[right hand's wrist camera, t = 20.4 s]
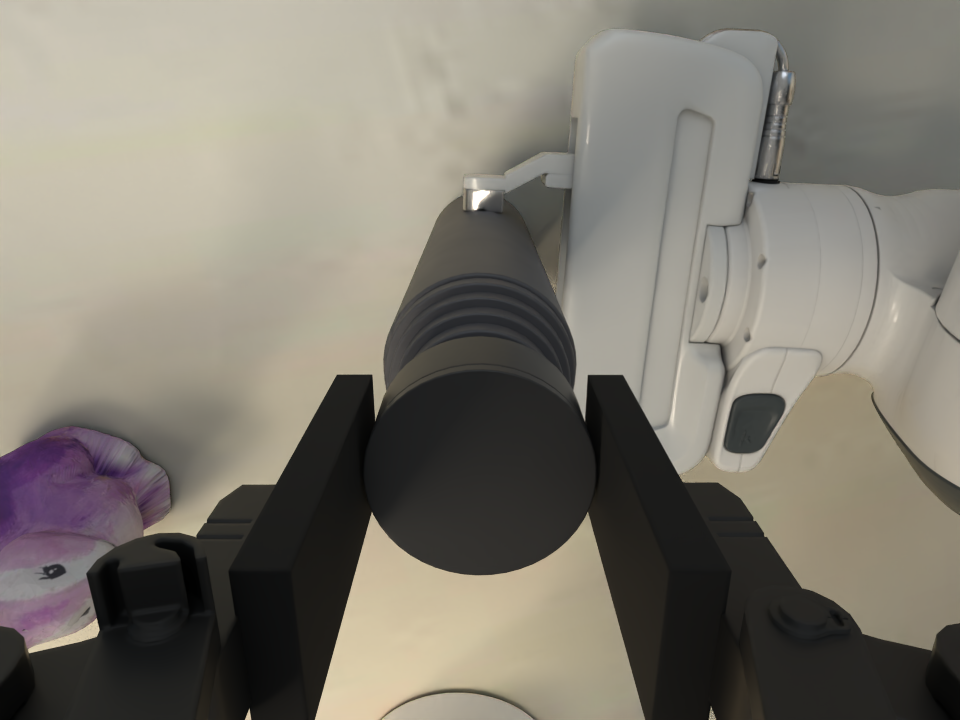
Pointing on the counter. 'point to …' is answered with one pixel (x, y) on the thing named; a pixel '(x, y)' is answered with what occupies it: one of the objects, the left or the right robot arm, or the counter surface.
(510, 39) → the counter surface
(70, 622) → the figurine
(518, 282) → the bottle
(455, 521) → the cap
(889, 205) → the left robot arm
